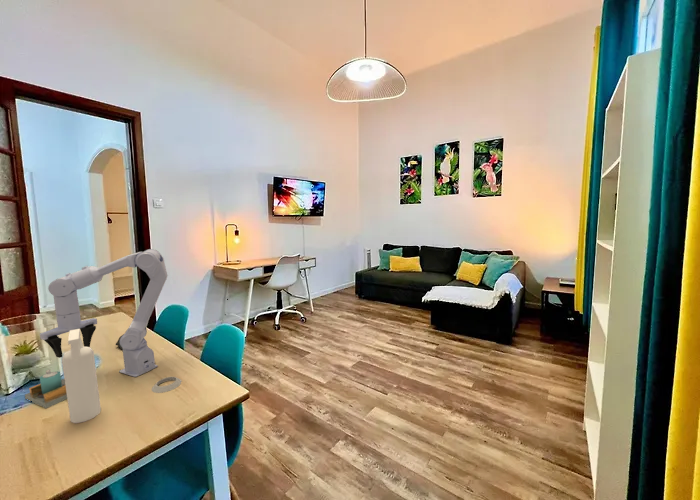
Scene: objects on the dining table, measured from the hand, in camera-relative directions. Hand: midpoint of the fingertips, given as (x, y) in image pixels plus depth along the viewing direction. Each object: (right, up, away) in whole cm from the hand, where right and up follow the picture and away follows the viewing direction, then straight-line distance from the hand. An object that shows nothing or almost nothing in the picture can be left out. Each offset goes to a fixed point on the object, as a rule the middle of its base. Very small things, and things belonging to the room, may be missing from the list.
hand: (73, 351), depth 101 cm
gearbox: (+1, -11, -6) cm, 13 cm away
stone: (-4, -7, +30) cm, 31 cm away
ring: (+33, -11, -2) cm, 35 cm away
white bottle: (+19, -12, -16) cm, 28 cm away
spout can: (0, -10, -7) cm, 12 cm away
